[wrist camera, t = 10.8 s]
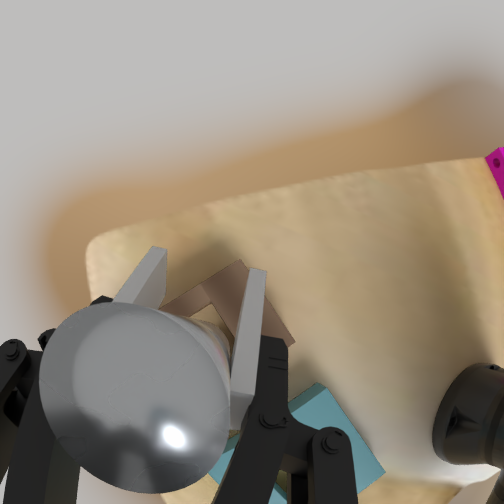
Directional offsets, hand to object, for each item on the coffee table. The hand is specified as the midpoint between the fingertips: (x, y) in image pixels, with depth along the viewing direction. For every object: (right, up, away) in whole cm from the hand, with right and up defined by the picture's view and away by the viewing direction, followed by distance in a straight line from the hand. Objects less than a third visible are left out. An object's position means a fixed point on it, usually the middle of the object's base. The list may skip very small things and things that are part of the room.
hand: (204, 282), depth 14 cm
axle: (-1, -5, +4) cm, 6 cm away
